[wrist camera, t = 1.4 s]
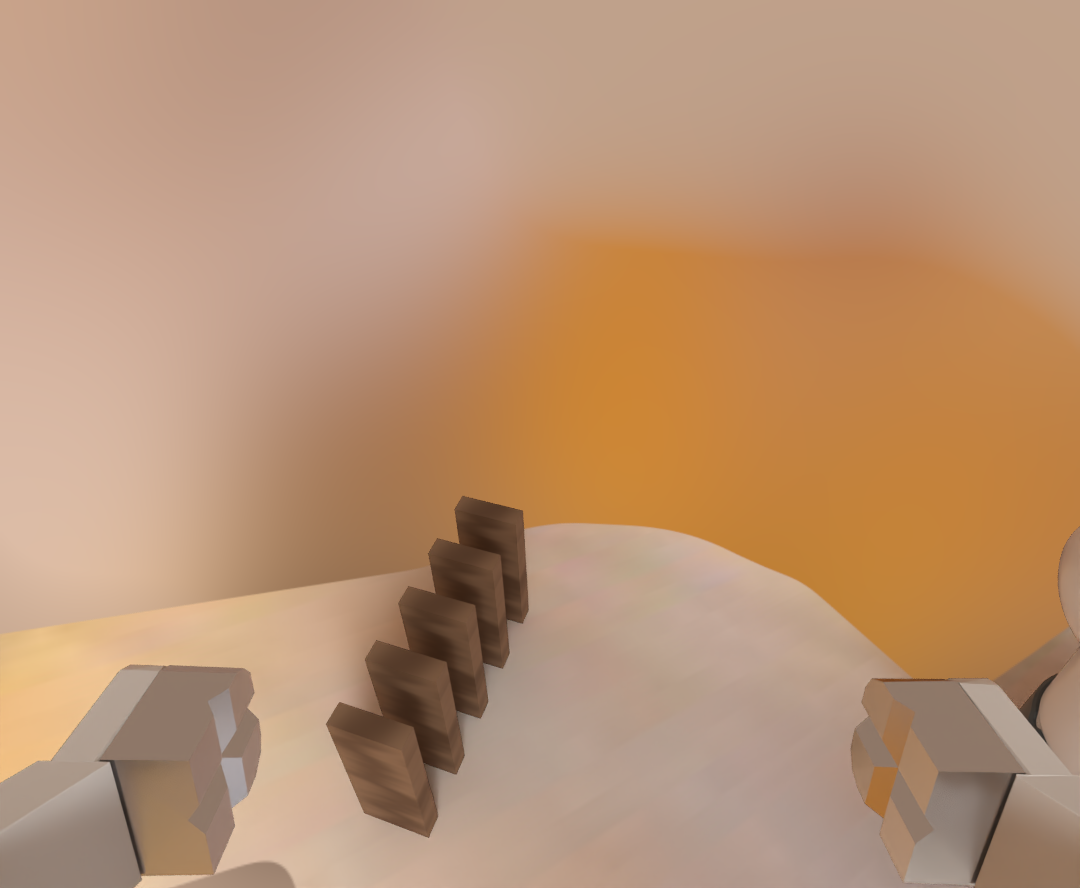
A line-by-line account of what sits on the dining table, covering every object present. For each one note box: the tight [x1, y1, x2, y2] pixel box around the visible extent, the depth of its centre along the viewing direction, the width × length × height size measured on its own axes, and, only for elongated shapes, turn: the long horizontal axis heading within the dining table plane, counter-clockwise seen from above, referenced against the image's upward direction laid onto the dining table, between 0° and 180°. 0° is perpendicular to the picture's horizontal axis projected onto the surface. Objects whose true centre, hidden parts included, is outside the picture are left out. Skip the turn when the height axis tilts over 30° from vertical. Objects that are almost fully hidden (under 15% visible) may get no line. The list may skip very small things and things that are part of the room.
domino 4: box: [365, 640, 465, 774], centre depth 62 cm, size 6×2×15 cm, turn 70°
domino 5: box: [326, 702, 438, 838], centre depth 58 cm, size 6×2×15 cm, turn 71°
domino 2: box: [428, 539, 509, 668], centre depth 69 cm, size 6×2×15 cm, turn 71°
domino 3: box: [399, 586, 488, 719], centre depth 66 cm, size 6×2×15 cm, turn 71°
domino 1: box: [455, 496, 529, 624], centre depth 73 cm, size 6×2×15 cm, turn 70°
